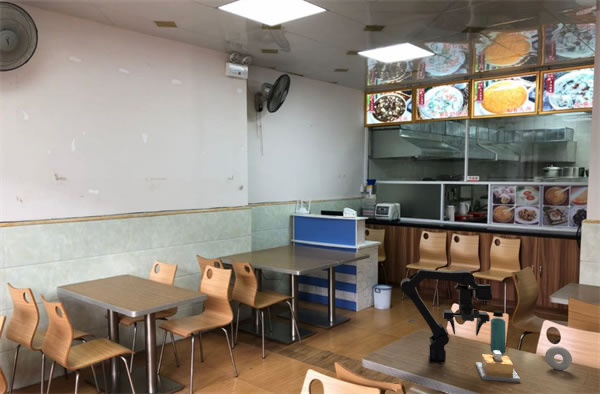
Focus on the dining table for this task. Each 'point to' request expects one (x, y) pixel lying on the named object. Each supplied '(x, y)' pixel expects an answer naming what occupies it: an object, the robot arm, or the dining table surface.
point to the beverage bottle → (498, 333)
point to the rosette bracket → (497, 369)
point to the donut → (561, 351)
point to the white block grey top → (497, 356)
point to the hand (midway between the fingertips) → (465, 335)
